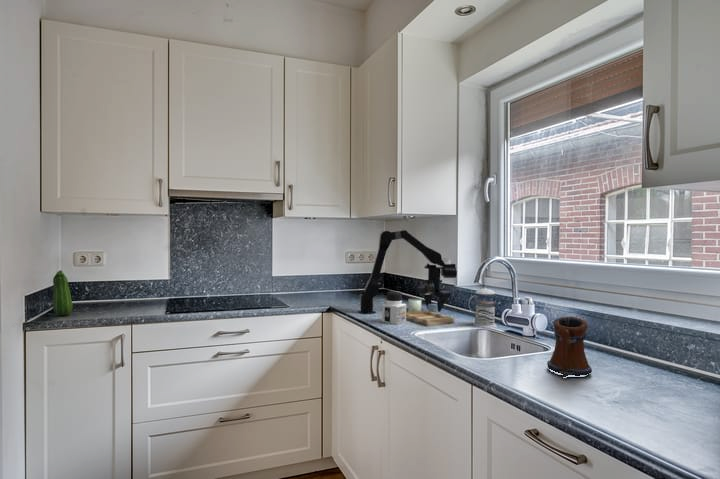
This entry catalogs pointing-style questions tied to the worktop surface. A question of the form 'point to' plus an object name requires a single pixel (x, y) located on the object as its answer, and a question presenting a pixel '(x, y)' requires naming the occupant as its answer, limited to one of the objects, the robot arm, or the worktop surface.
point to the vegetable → (61, 295)
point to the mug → (569, 347)
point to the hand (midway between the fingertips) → (433, 310)
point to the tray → (428, 318)
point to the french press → (485, 306)
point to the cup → (414, 305)
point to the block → (433, 308)
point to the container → (394, 309)
